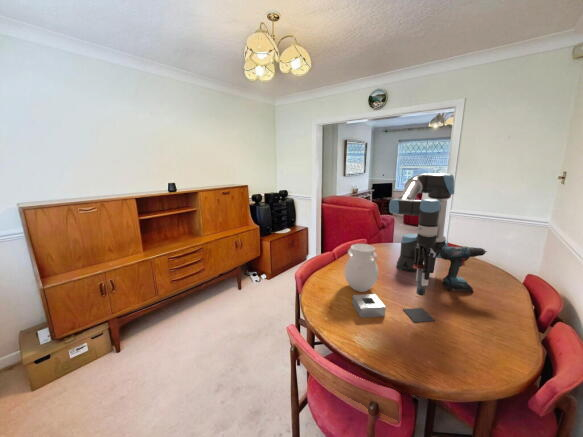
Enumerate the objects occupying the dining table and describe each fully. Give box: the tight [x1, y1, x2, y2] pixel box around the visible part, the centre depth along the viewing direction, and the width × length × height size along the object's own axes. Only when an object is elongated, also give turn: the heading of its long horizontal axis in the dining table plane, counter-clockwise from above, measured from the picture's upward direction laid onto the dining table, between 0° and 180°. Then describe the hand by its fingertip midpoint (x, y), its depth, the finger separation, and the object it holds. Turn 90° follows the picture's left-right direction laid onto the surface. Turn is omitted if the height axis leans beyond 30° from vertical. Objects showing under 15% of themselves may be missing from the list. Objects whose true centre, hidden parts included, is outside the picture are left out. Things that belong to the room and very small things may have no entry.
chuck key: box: [413, 263, 427, 297], centre depth 114 cm, size 9×4×14 cm, turn 94°
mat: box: [402, 307, 436, 324], centre depth 118 cm, size 10×10×1 cm
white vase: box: [344, 243, 379, 293], centre depth 142 cm, size 19×18×25 cm
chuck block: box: [352, 293, 387, 319], centre depth 123 cm, size 12×12×5 cm
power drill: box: [440, 245, 488, 293], centre depth 140 cm, size 9×23×25 cm, turn 78°
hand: (421, 282), depth 115 cm, fingers closed on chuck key, 3 cm apart
